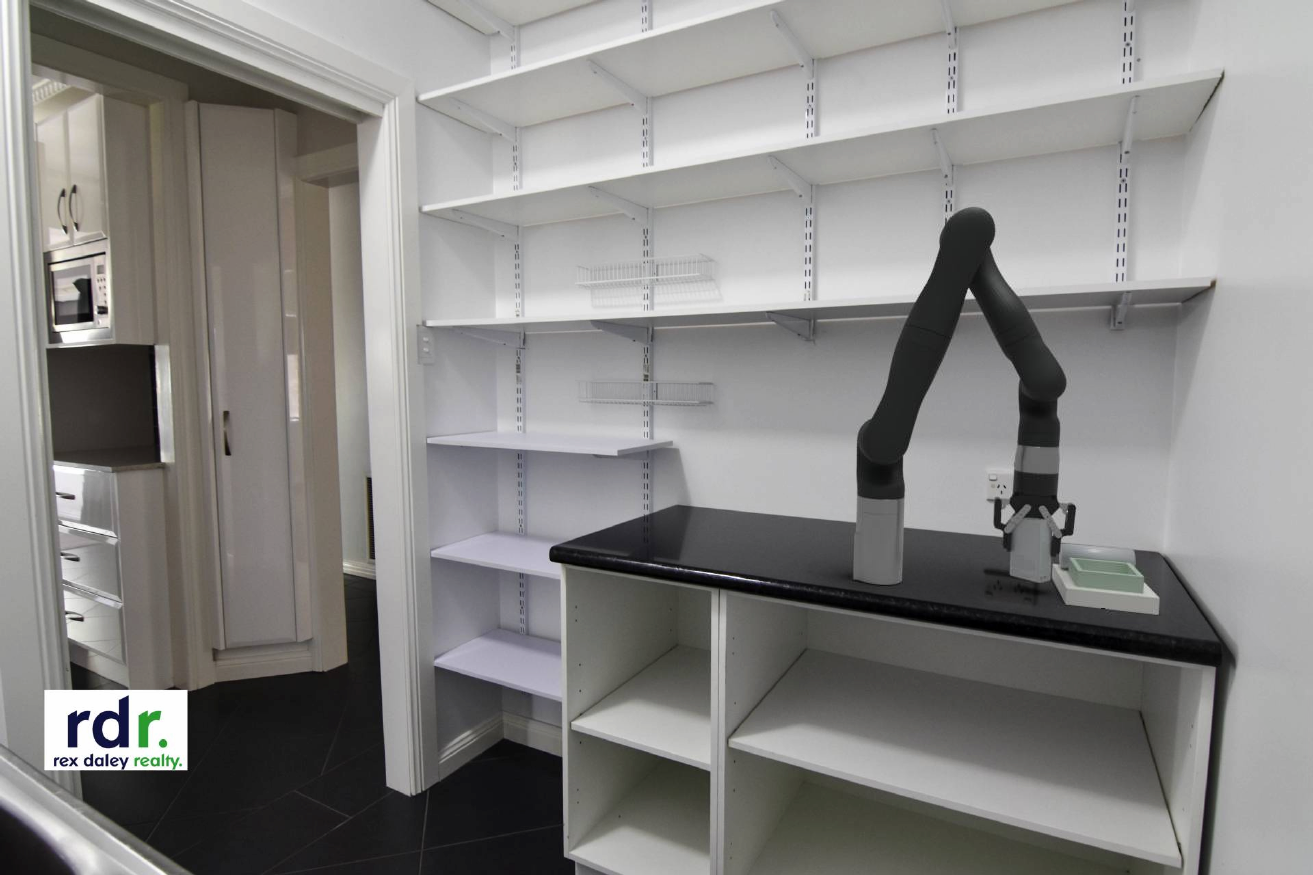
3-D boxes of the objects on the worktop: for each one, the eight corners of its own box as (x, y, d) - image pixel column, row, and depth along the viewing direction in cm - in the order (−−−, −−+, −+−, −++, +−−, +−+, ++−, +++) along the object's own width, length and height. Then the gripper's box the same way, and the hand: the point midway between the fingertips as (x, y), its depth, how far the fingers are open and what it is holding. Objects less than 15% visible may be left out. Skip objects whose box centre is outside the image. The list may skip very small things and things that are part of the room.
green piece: (1077, 586, 125) (1078, 570, 124) (1068, 572, 134) (1069, 557, 134) (1143, 593, 121) (1144, 577, 120) (1129, 578, 130) (1130, 562, 130)
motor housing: (1065, 604, 124) (1068, 561, 123) (1051, 577, 140) (1053, 539, 140) (1158, 614, 118) (1161, 570, 118) (1132, 586, 135) (1135, 546, 134)
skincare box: (1051, 580, 131) (1055, 518, 129) (1037, 584, 128) (1042, 520, 127) (1020, 572, 136) (1024, 512, 135) (1006, 575, 134) (1010, 514, 133)
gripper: (995, 468, 130) (990, 553, 131) (1083, 474, 124) (1076, 562, 125) (993, 464, 136) (988, 545, 138) (1076, 469, 131) (1070, 553, 132)
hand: (1030, 553), depth 132 cm, fingers closed on skincare box, 7 cm apart
